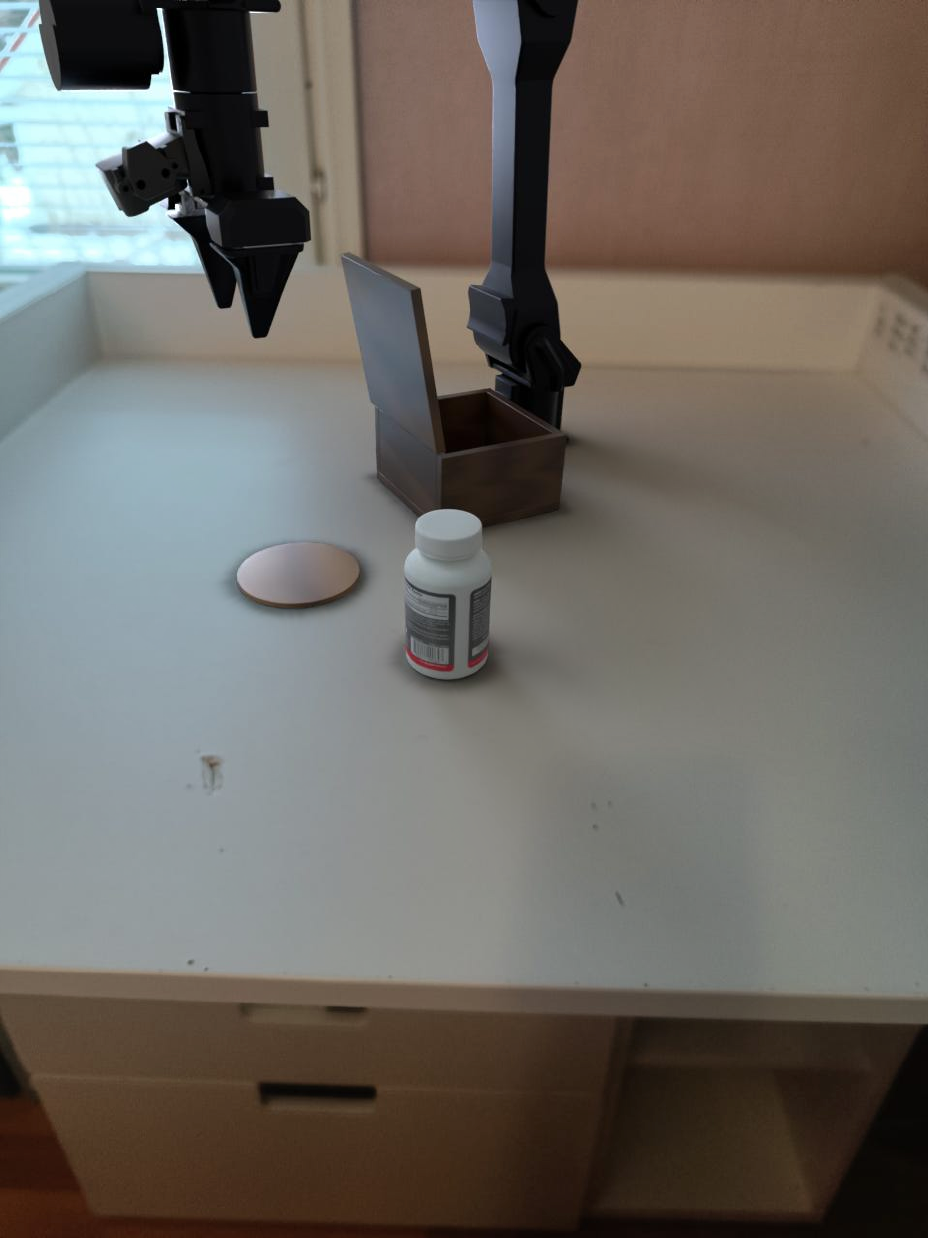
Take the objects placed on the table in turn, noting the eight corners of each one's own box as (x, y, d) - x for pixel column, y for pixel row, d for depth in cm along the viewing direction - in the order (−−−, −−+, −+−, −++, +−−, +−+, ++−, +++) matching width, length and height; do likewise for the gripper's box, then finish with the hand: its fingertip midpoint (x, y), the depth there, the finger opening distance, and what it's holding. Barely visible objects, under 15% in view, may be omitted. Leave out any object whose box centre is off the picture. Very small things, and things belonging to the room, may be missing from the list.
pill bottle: (465, 626, 60) (470, 497, 55) (502, 669, 56) (511, 534, 51) (392, 645, 58) (389, 512, 53) (425, 691, 54) (425, 553, 49)
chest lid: (349, 251, 68) (339, 253, 68) (421, 287, 59) (410, 290, 59) (378, 399, 76) (370, 402, 76) (446, 451, 67) (437, 455, 67)
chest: (486, 456, 85) (489, 387, 81) (559, 509, 76) (567, 434, 72) (376, 477, 80) (374, 405, 76) (440, 537, 71) (441, 458, 67)
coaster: (333, 537, 70) (333, 532, 70) (379, 590, 64) (379, 585, 64) (222, 561, 67) (221, 557, 66) (259, 620, 60) (258, 615, 60)
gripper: (69, 83, 64) (112, 304, 73) (120, 101, 50) (165, 370, 59) (221, 83, 68) (243, 291, 77) (305, 100, 55) (321, 349, 64)
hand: (241, 321), depth 69 cm, fingers open, 9 cm apart
